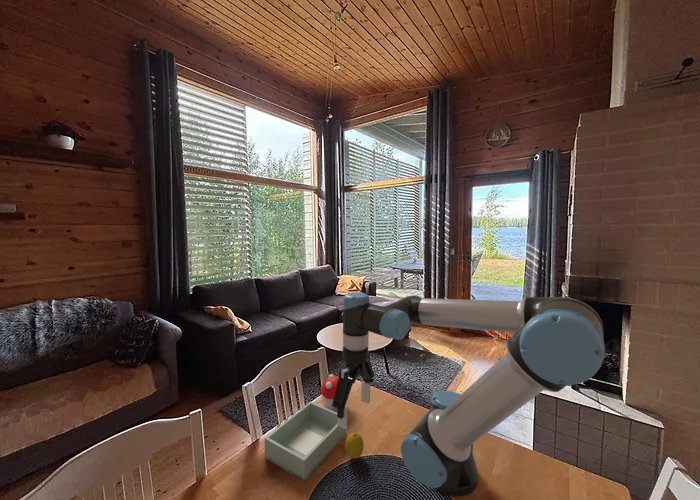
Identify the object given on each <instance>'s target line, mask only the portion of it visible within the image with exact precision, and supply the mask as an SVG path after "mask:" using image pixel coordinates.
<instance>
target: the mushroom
mask: <svg viewBox="0 0 700 500" xmlns="http://www.w3.org/2000/svg"><path fill="white" fill-rule="evenodd" d="M338 379H339V375H334V374H332V373H331V374H329V376H328V377H327V379H326V380H324V382H323V383H322V385H321V391H320V394H321V396H323V397H324V398H323V399H324V400H323V401H324V404H325V406H324V407H325V408H327V409H329V410H332V411H334V412H336V413H337V408H334V407H332V403H333V399H334V395H335V391H336V387H337V383H338Z"/></svg>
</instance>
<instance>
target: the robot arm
mask: <svg viewBox="0 0 700 500" xmlns="http://www.w3.org/2000/svg"><path fill="white" fill-rule="evenodd" d="M370 302H371V301H370V296H369V294H367V293H366V292H365V293H364V292H358V291H356V292H355V291H354V292H347V293H346V294H345V295H344V296H343V301H342V359H343V361H344V362H345V368H344V369H341V368H340V369H339V372H338V377H339V379H338V383H337V387H336V391H335V395H334V399H333V403H332V407H334V408H337V412H336V413H337V417H338V426H339V427H342V428H344V429H346V428H347V429H348V406H347V403H348V399H349V396H350V394H351V390H352V388H353V384H355V382H356V380H357V378H358V377H360V378H361V379H362V381H361V398H360V399H361V402H362V403H366V404H368V405H369V404H370V403H371V384H373V383H374V382H375V380H374V378H375V373H374V370H373V365H372V362H371V354H369V343H370V342H369V336H370V335H369V332H370V333H373V334H376V335H379V336H382V337H384V338H386V339H393V340H397V341H399V340H403V339H404V338H405V337H406V335H407V334H408V332H409V329H410V325H413V324H414V325H422V326H423V325H426V326H434V327H436V326H437V327H444V328H445V327H447V328H455V329H456V328H457V329H467V330H475V331H477V330H478V331H488V332H500V333H507V334H508V333H509V334H513V335H512V336H511V337H510V338H508V340H507V341H506V343H505V348H506V353H505V354H504V355H503V356H501V358H500V359H499V360H497V362H495V363H494V364H493V365H492V366H490V368H488V370H486V372H484V373H483V374H482V375H480V377H479V378H478V379H477V380H476V381H474V382H473V383H472V384H471V385H470V386H468V388H466V390H464V391H463V392H462V393H458V392H456V391H455V392H454V391H451V390H450V391H449V390H440V391H439V390H438V391H436V392H434V393H433V394H432V396H431V400H430V403H431V406H430V409H429V411H428V412H427V413H425V415H424V416H423V417H422V418H421V419H420V420H419V422H418V423H417V424H416V425H415V426H414V427H413V428H412V430H410V432H409V433H407V434H406V435H405V436H404V439H403V440H402V442H401V444H400V454H401V459H402V462H403V463H404V466H405V467H406V469H407V470H408V472H409V473H410V474H411V476H413V478H414V479H415V480H416V481H417V482H419V483H421V484H422V485H424V486H426V487H428V488H429V489H430V488H431V489H433V488H434V489H436V490H437V491H439V492H441V493H443V494H445V493H446V494H445V495H448V496H453V497H465V496H468V495H471V494H472V493H474V492H475V490H476V489H477V487H478V484H479V471H478V466H477V464H476V460H475V456H474V452H473V451H474V444H475V443H476V442H477V441H479V440H480V439H481V438H483V437H484V436H486V434H488V433H490V431H492V430H493V429H495V428H496V427H497V426H498V425H500V424H501V423H502V422H504V421H505V420H506V419H508V418H509V417H511V415H513V414H514V413H515V412H517V411H518V410H519V409H521V408H522V407H523V406H525V405H526V404H527V403H529V402H530V401H531V400H533V399H534V398H535V397H536V396H538V395H539V394H540V393H542V392H543V391H547V392H552V393H559V391H562V389H564V388H565V387H567V386H573V385H578V384H581V383H585V382H587V381H588V380H590V379H591V378H592V377H594V376H595V375H596V374H597V372H598V371H599V370H600V369H601V367H602V365H603V362H604V360H605V355H606V344H605V341H604V335H605V334H604V333H605V332H604V330H605V329H604V325H603V324H604V323H603V321H602V319H601V318H600V315H599V314H598V312H597V311H596V310H595V309H594V308H593V307H592V306H590V305H589V304H587V303H585V302H583V301H582V300H578V299H576V298H571V297H568V296H567V297H565V296H554V297H553V296H544V297H543V296H542V297H541V296H540V297H539V296H525V297H523V299H522V300H494V299H493V300H492V299H490V300H487V299H459V298H458V299H457V298H455V299H454V298H424V297H421V296H419V295H418V294H417V295H416V294H415V295H414V294H412V295H407V296H406V297H403V298H401V299H399V300H395V302H393V303H390V304H387V305H377V304H373V303H370Z"/></svg>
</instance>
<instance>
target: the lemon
mask: <svg viewBox="0 0 700 500" xmlns="http://www.w3.org/2000/svg"><path fill="white" fill-rule="evenodd" d="M345 439H346V440H345V445H344V446H345V451H346V454H347V455H348V457H350V458H351V459H358V458H360V457H361V456H362V454H363V452H364V447H365V445H364V444H365V443H364V439H363V437H362V436H361V434H360V433H358V432H351V433H350V434H348V436H347V437H346V438H345Z"/></svg>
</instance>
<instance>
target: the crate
mask: <svg viewBox="0 0 700 500" xmlns="http://www.w3.org/2000/svg"><path fill="white" fill-rule="evenodd" d="M347 429H348V427H347V428H346V429H344V428H342V427H339V426H338V417H337V412H334V411H332V410H329V409H327V408H326V406H322V405H319V404H317V403H315V402H313V401H309V402H308V403H306V404H304V406H303V407H301V408H300V409H298V410H297V411H296V412H294V414H293V415H292V416H290V417H289V418H288V419H286V420H285V421H284V422H283V423H281V425H279V426H278V427H276V428H275V429H274V430H273V431H271V432H270V433H269V434H268V435H267V436H265V437H264V458H265V459H266V460H268V461H269V462H271V463H273V464H274V465H276V466H277V467H279V468H281V469H282V470H284V471H286V473H289V474H290V475H292V476H294V477H295V478H298V479H299V480H301V481H302V482H306V481H307V480H308V479H309V478H310V477H311V475H312V474H313V473H314V472H315V471H316V469H318V467H319V466H321V464H322V463H323V462H324V461H325V460H326V459H327V457H328V456H329V455H330V454H331V453H332V452H333V450H334V449H335V448H336V447H338V445H339V444H340V443H341V442H342V440H343V439H345V437H346V436H347V434H348V433H347Z"/></svg>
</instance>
